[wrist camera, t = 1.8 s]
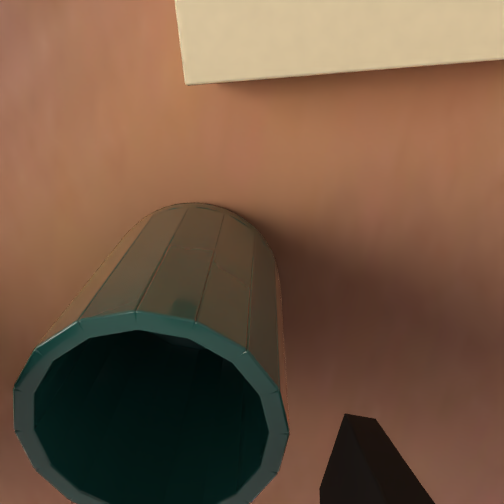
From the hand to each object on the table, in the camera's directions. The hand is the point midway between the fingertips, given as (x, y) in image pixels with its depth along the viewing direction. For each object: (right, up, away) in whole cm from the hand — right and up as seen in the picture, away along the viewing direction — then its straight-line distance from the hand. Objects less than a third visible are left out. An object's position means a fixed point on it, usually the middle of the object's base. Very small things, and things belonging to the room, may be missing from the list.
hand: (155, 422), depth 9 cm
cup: (0, +2, +6) cm, 6 cm away
